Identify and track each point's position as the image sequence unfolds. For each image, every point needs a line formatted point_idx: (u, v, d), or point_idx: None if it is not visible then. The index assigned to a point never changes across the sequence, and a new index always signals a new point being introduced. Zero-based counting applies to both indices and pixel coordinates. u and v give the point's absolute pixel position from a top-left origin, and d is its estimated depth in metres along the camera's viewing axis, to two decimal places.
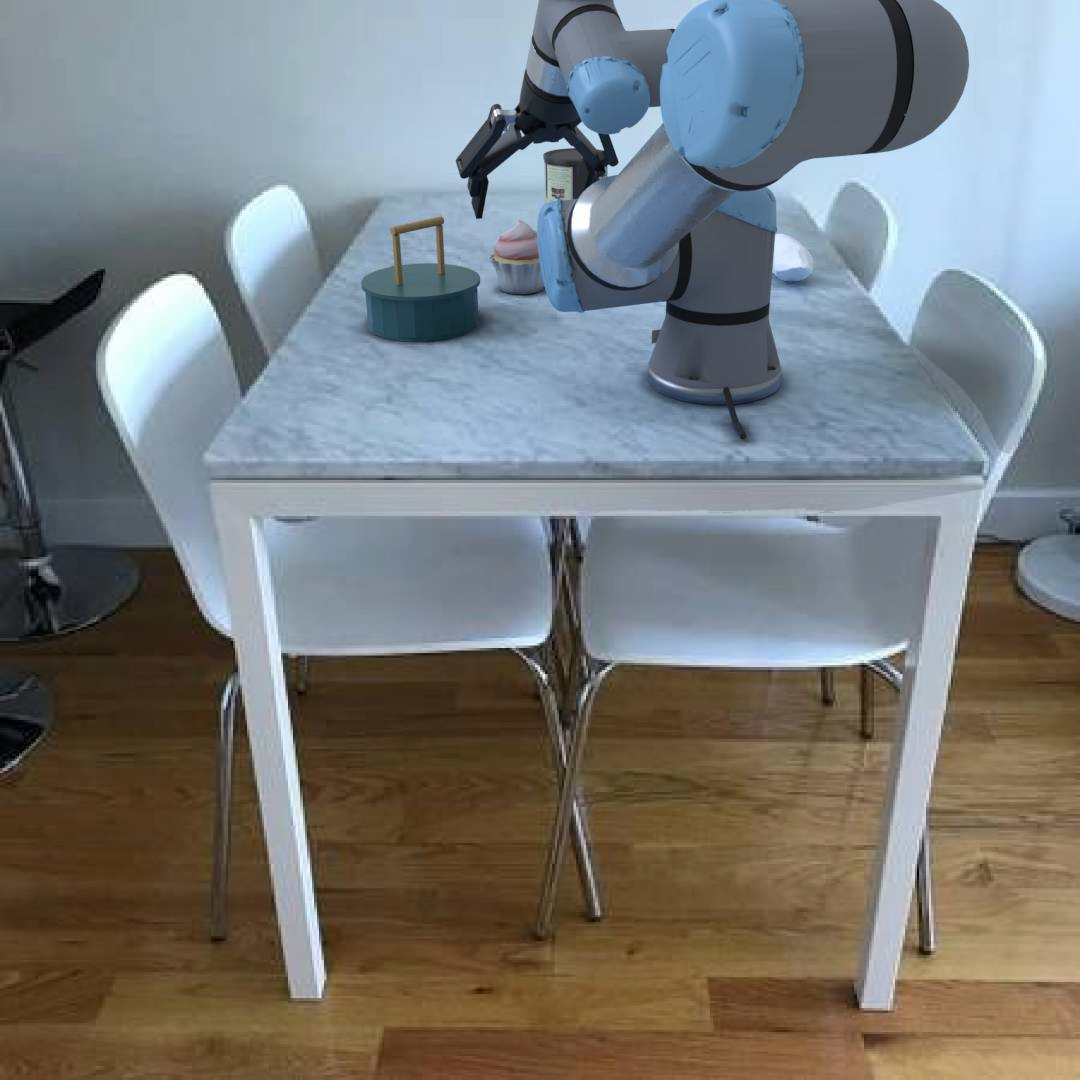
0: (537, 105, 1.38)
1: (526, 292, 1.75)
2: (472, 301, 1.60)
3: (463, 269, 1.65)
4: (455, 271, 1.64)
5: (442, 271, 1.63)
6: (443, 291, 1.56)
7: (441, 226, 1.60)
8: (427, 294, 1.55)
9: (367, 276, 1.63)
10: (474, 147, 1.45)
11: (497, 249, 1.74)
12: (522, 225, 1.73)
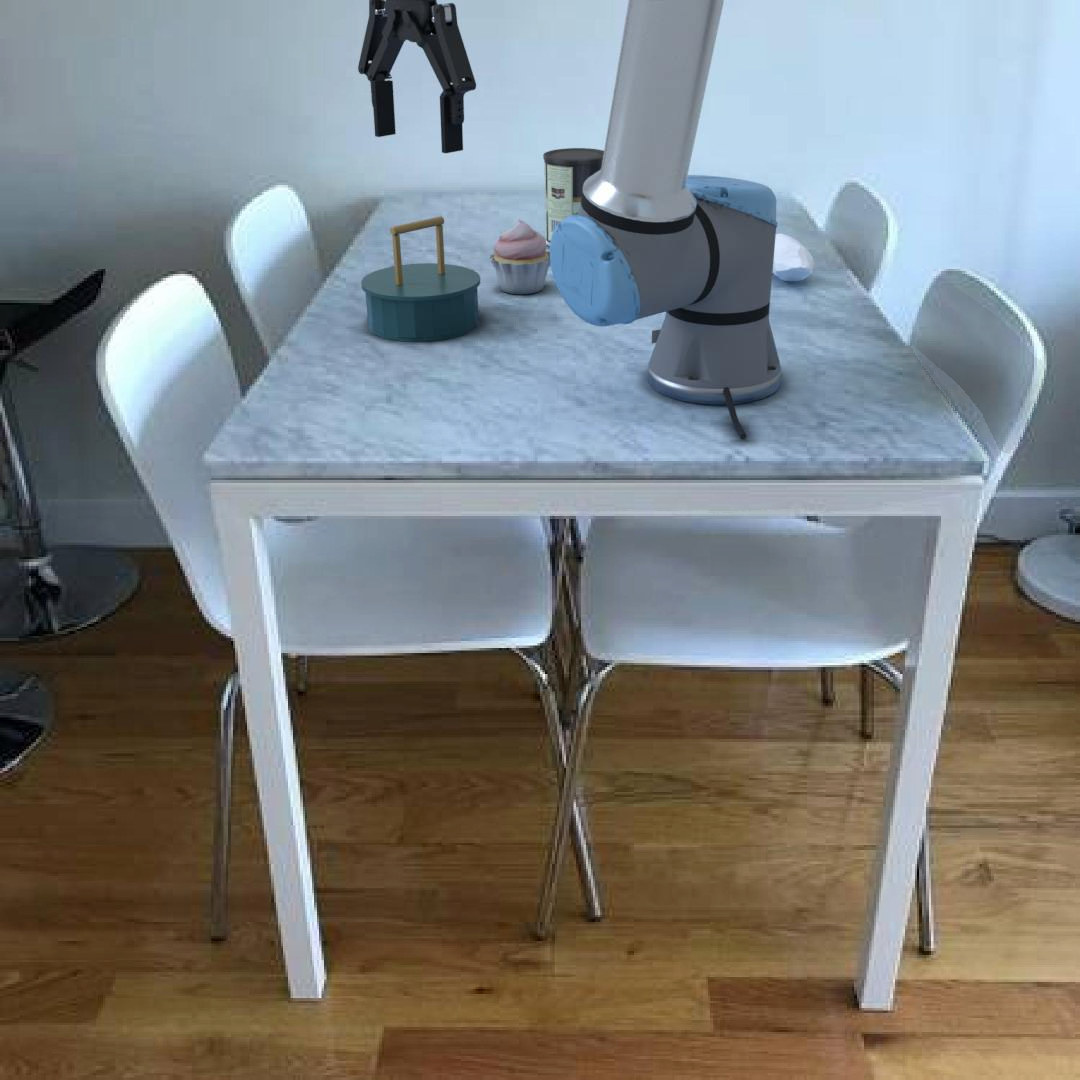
0: None
1: (526, 292, 1.75)
2: (472, 301, 1.60)
3: (463, 269, 1.65)
4: (455, 271, 1.64)
5: (442, 271, 1.63)
6: (443, 291, 1.56)
7: (441, 226, 1.60)
8: (427, 294, 1.55)
9: (367, 276, 1.63)
10: None
11: (497, 249, 1.74)
12: (522, 225, 1.73)
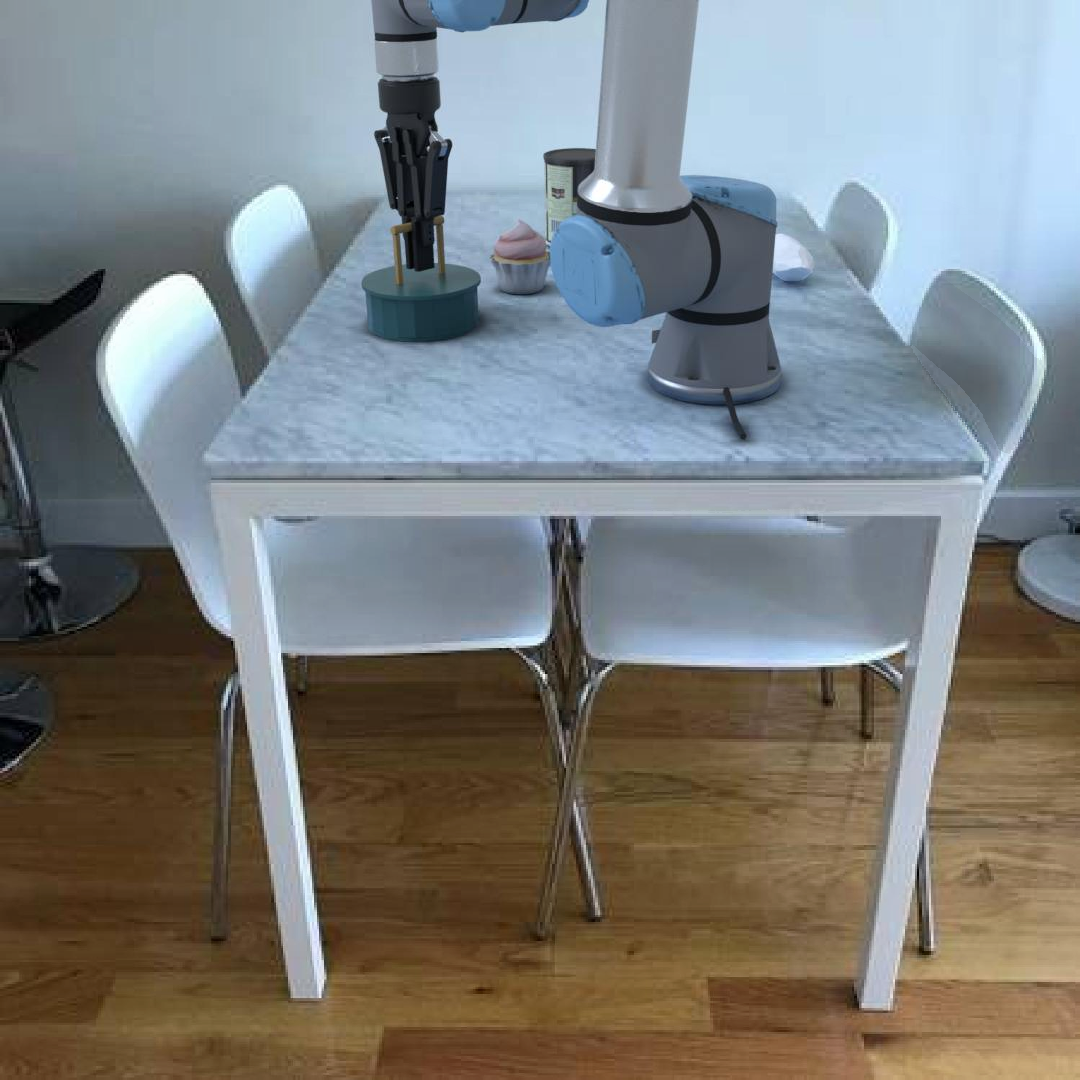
0: None
1: (526, 292, 1.75)
2: (472, 301, 1.60)
3: (463, 269, 1.65)
4: (455, 271, 1.64)
5: (442, 271, 1.63)
6: (443, 290, 1.56)
7: (441, 225, 1.60)
8: (427, 293, 1.55)
9: (367, 276, 1.63)
10: None
11: (497, 249, 1.74)
12: (522, 225, 1.73)
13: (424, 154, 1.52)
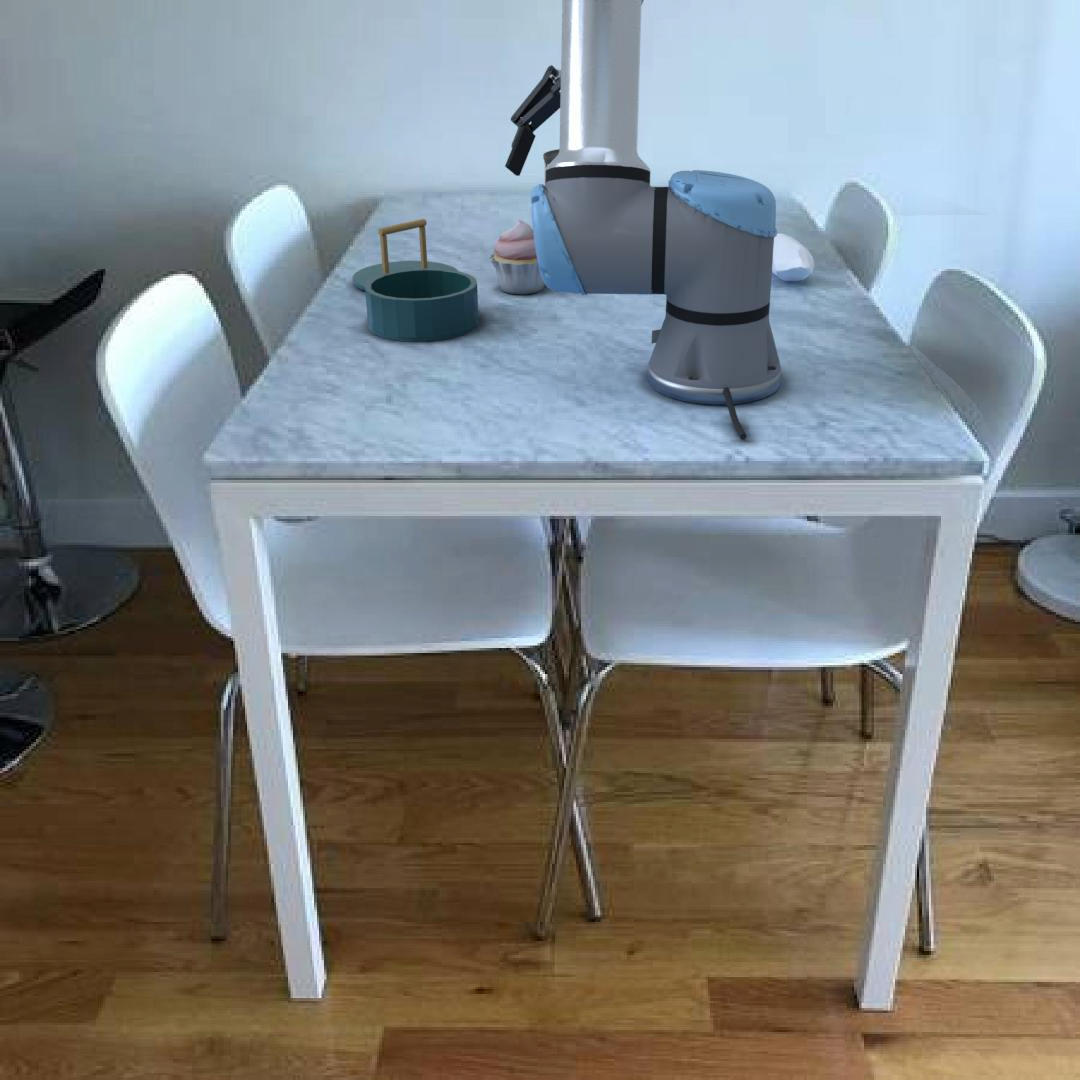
0: None
1: (526, 292, 1.75)
2: (472, 301, 1.60)
3: (444, 266, 1.85)
4: (437, 267, 1.84)
5: (425, 267, 1.83)
6: None
7: (424, 227, 1.80)
8: None
9: (358, 272, 1.83)
10: None
11: (497, 249, 1.74)
12: (522, 225, 1.73)
13: None
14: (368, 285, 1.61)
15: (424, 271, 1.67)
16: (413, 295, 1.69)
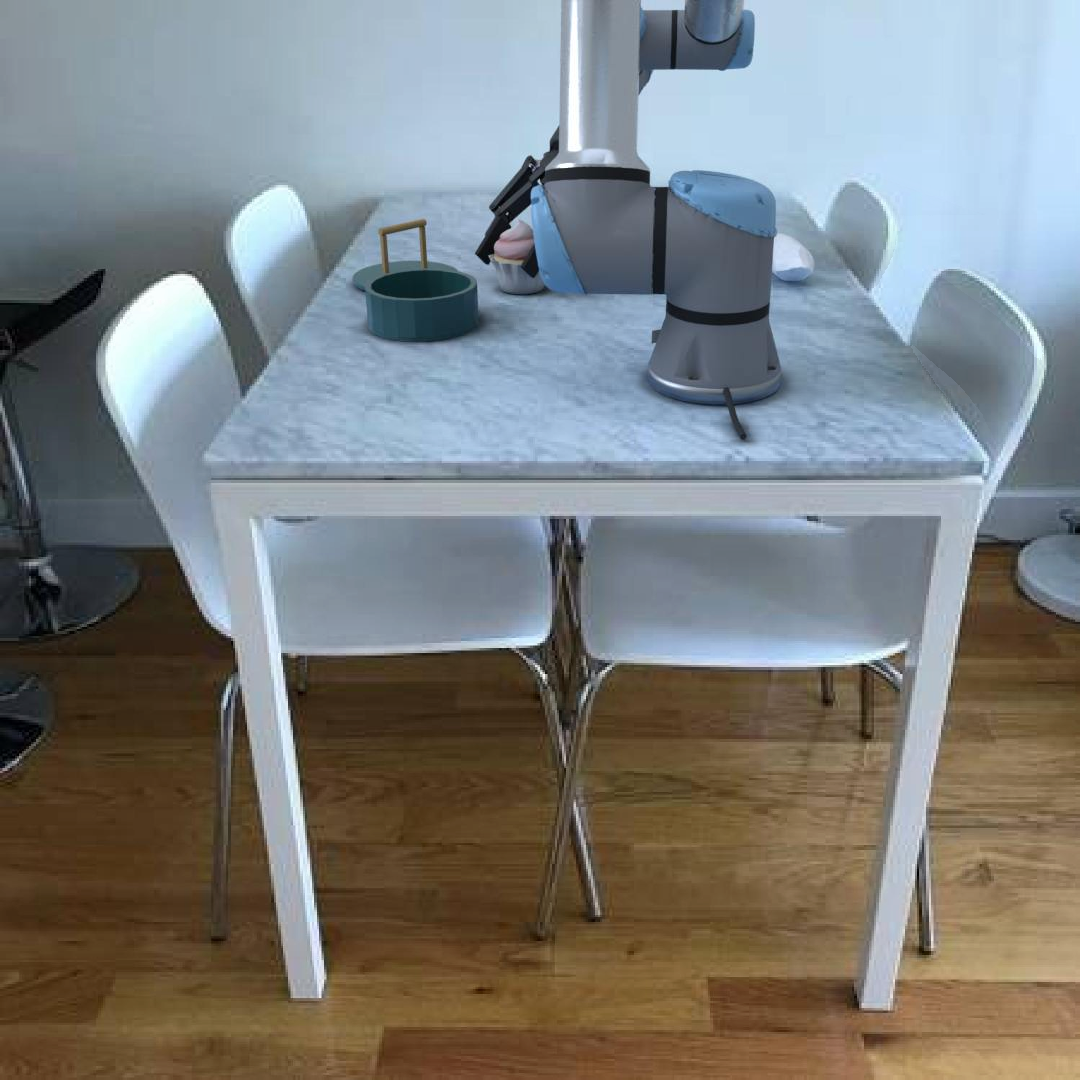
0: None
1: (526, 292, 1.75)
2: (472, 301, 1.60)
3: (444, 266, 1.85)
4: (437, 267, 1.84)
5: (425, 267, 1.83)
6: None
7: (424, 227, 1.80)
8: None
9: (358, 272, 1.83)
10: None
11: (497, 249, 1.74)
12: (522, 225, 1.73)
13: None
14: (368, 285, 1.61)
15: (424, 271, 1.67)
16: (413, 295, 1.69)
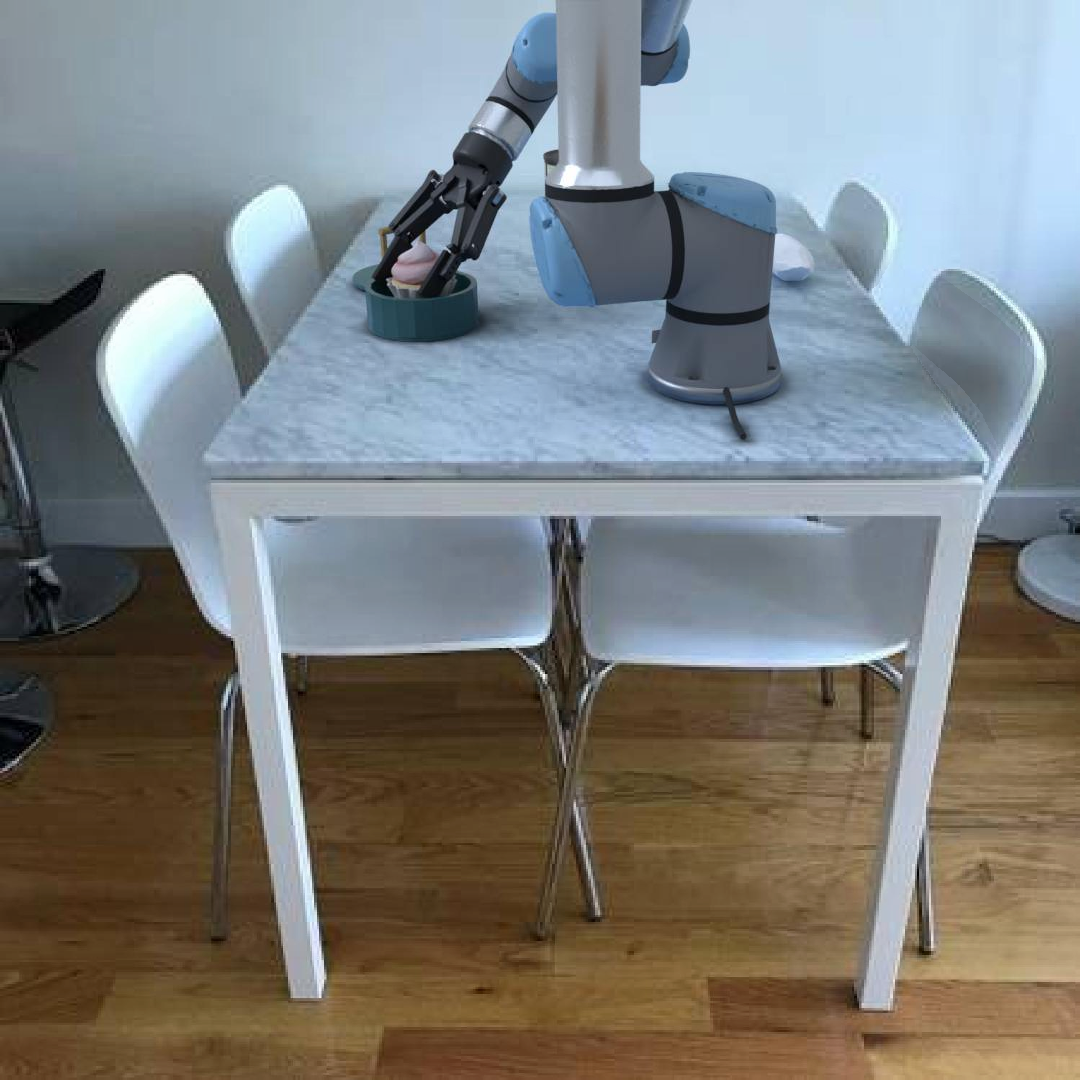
0: None
1: None
2: (472, 301, 1.60)
3: None
4: None
5: None
6: None
7: None
8: None
9: (358, 272, 1.83)
10: None
11: (394, 272, 1.59)
12: (421, 247, 1.58)
13: None
14: (368, 285, 1.61)
15: None
16: None
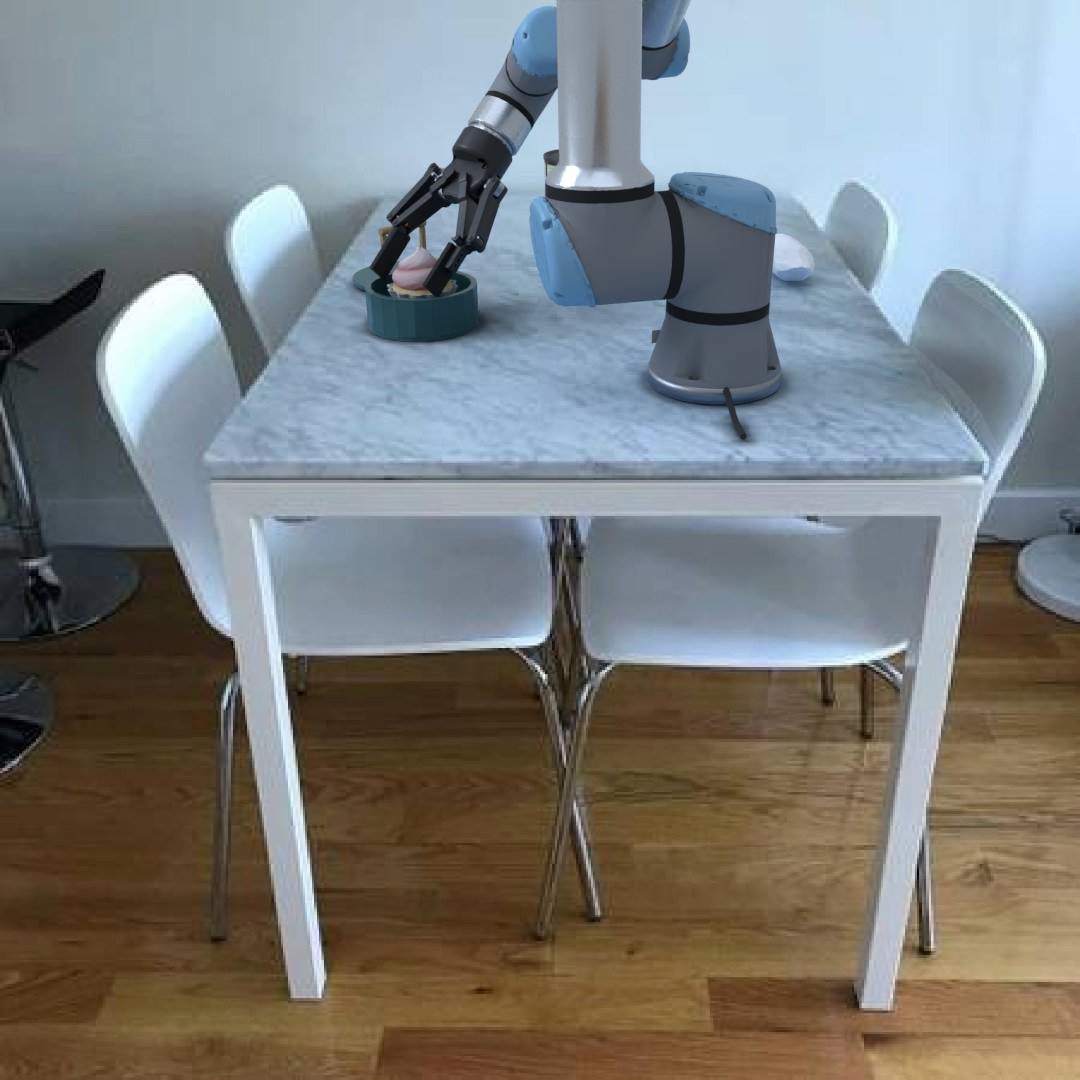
0: None
1: None
2: (472, 301, 1.60)
3: None
4: None
5: None
6: None
7: (424, 227, 1.80)
8: None
9: (358, 272, 1.83)
10: None
11: (395, 278, 1.59)
12: (421, 252, 1.58)
13: None
14: (368, 285, 1.61)
15: None
16: None
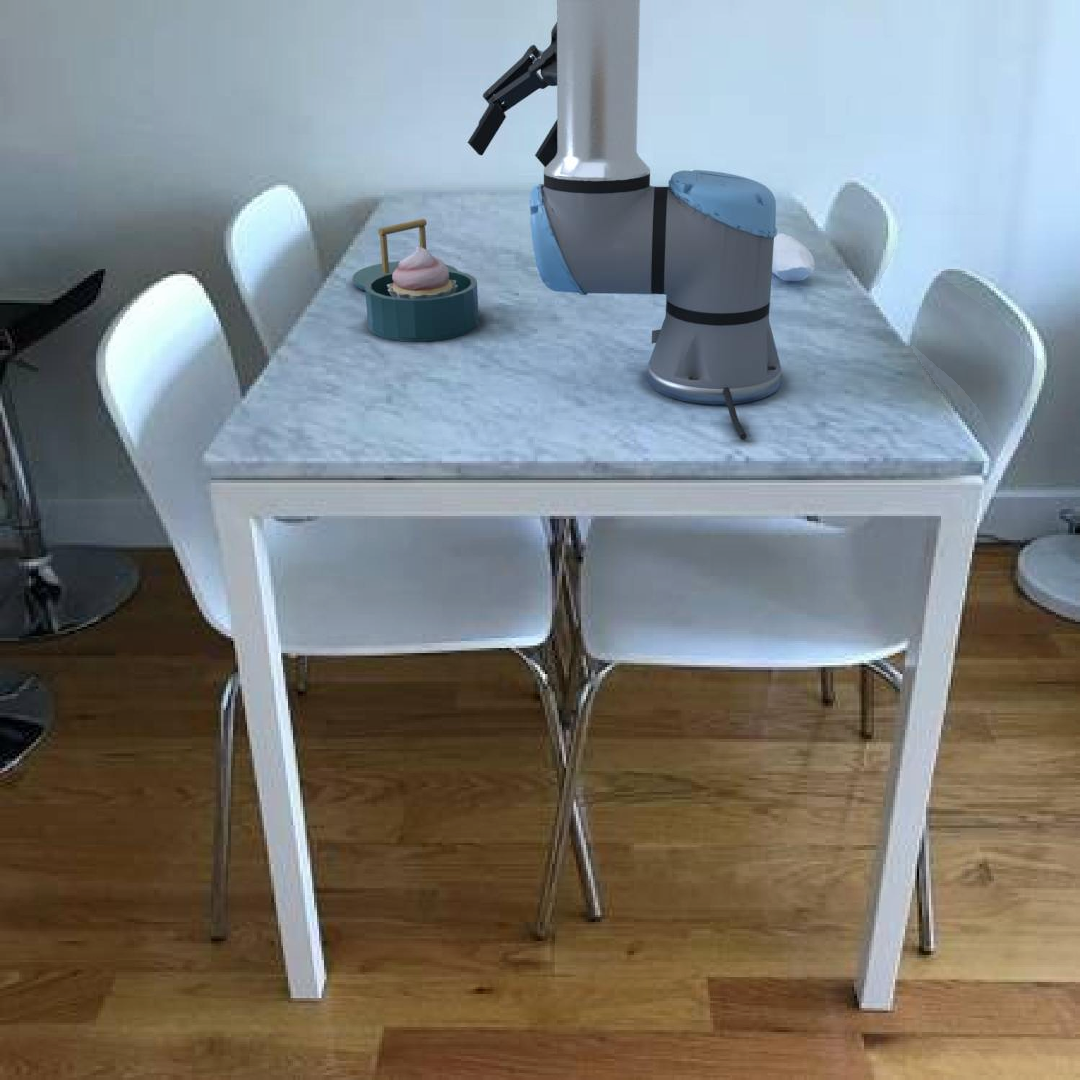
0: None
1: None
2: (472, 301, 1.60)
3: None
4: None
5: None
6: None
7: (424, 227, 1.80)
8: None
9: (358, 272, 1.83)
10: None
11: (395, 278, 1.59)
12: (421, 252, 1.58)
13: None
14: (368, 285, 1.61)
15: None
16: None
